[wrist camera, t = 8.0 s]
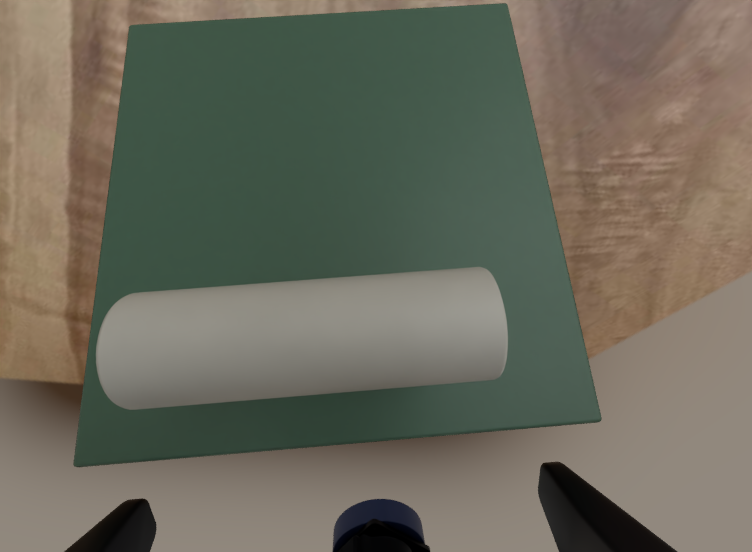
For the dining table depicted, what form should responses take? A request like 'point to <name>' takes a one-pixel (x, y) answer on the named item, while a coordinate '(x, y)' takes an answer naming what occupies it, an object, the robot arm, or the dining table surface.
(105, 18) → the dining table surface
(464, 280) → the lid
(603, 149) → the dining table surface
